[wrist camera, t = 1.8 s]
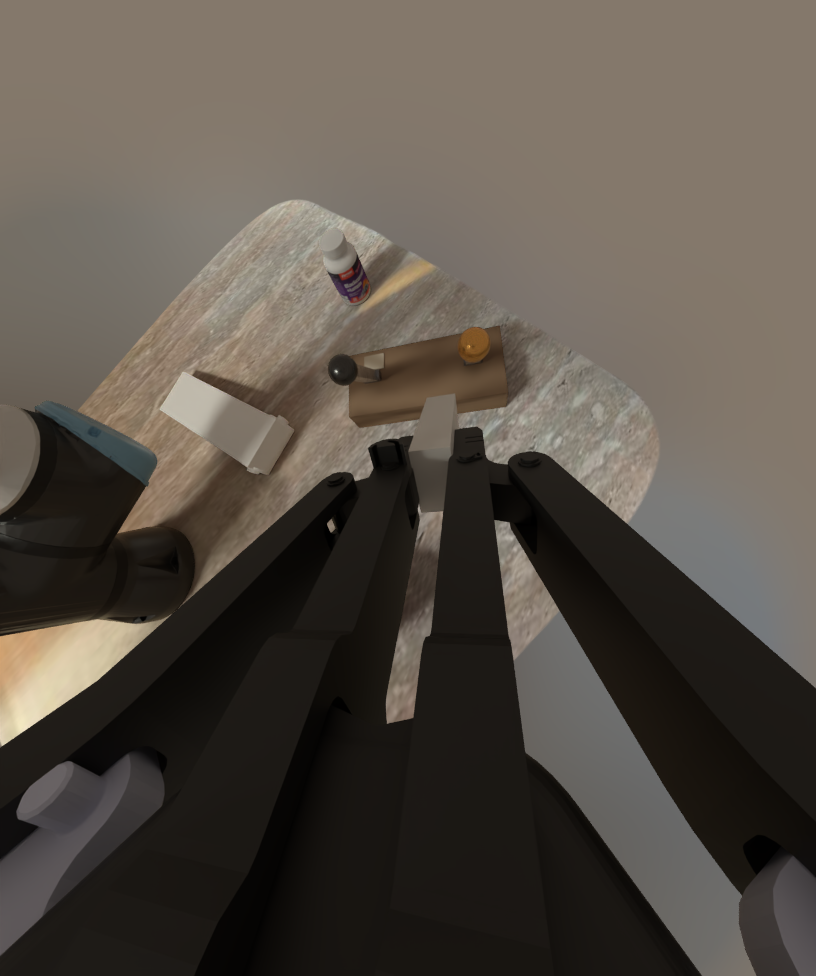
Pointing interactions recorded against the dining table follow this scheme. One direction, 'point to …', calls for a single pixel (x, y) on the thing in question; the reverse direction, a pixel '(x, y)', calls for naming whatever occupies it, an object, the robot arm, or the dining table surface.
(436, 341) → the switch box
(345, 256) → the pill bottle
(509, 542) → the dining table surface
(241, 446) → the wall bracket
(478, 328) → the orange knob lever
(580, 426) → the dining table surface
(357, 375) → the black knob lever
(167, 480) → the dining table surface
